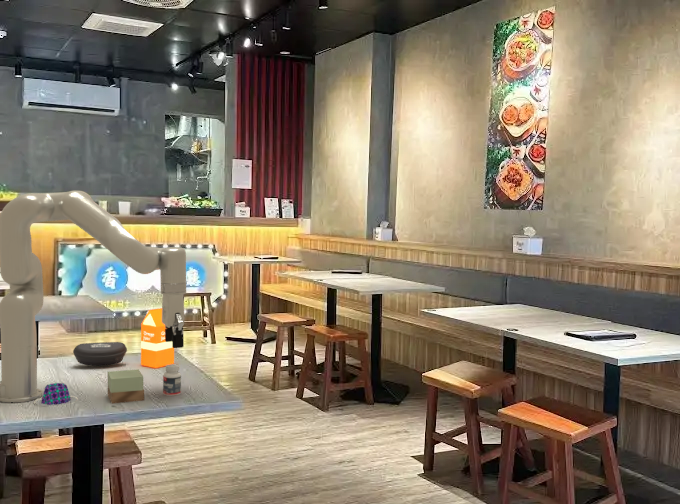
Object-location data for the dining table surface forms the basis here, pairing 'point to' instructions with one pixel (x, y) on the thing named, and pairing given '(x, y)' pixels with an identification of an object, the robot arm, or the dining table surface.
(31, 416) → the dining table surface
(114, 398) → the tower base slab
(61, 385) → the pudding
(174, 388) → the pill bottle
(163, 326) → the orange juice
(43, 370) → the dining table surface
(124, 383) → the tower top slab
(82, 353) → the glasses case
